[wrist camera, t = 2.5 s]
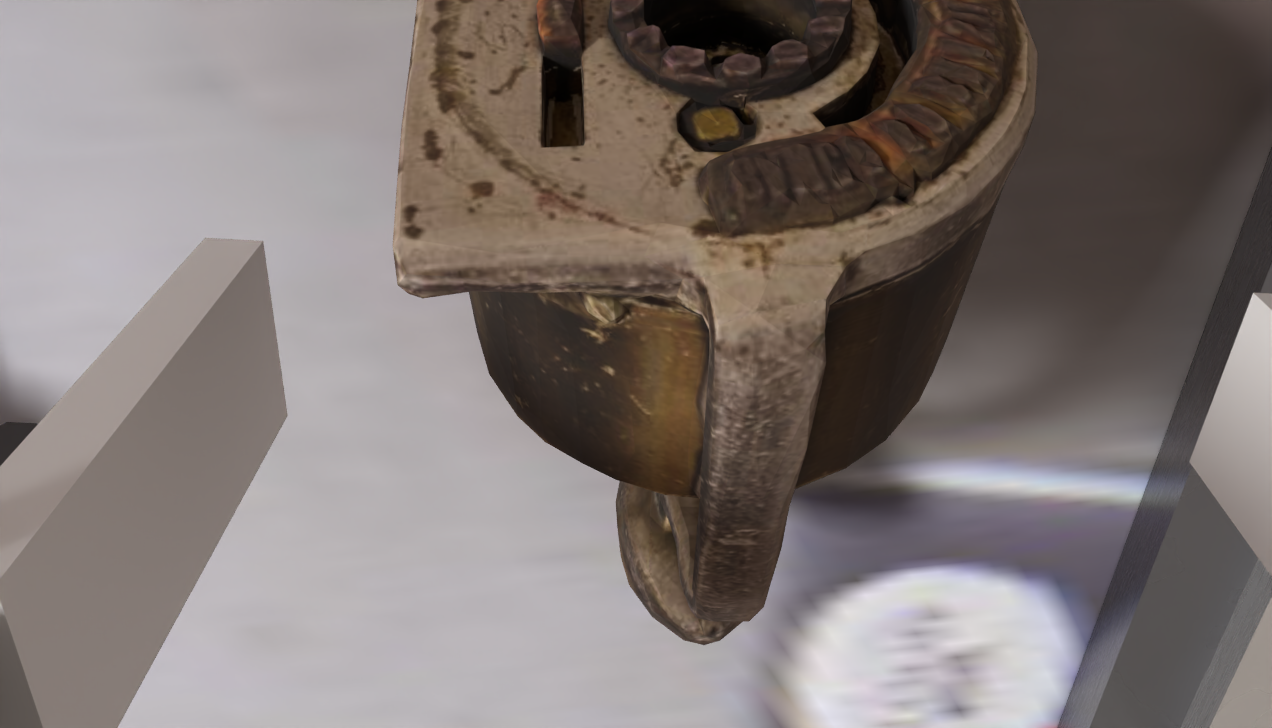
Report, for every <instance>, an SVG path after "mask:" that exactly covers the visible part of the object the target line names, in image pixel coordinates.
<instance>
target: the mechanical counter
mask: <svg viewBox="0 0 1272 728" xmlns="http://www.w3.org/2000/svg"><path fill="white" fill-rule="evenodd" d="M1037 63H1038V52H1037V50H1036V47H1035V45H1034V42H1033V40H1032V37H1031V35H1030V32H1029V30H1028V27H1027V25H1026V22H1025V20H1024V17H1023V15H1022V12H1021V10H1020V7H1019V5H1018V3H1017V1H1016V0H417V8H416V17H415V25H414V34H413V42H412V50H411V59H410V67H409V74H408V82H407V90H406V97H405V105H404V112H403V120H402V129H401V141H400V154H399V167H398V179H397V193H396V207H395V221H394V235H393V251H394V259H395V267H396V276H397V284H398V285H399V286H400V287H401V288H402V289H404V290H405V291H406V292H407V293H409V294H411V295H414V296H418V297H421V298H428V297H435V296H442V295H449V294H456V293H463V292H469V295H470V299H471V304H472V309H473V314H474V318H475V323H476V328H477V333H478V336H479V340H480V343H481V347H482V350H483V354H484V357H485V361H486V364H487V368H488V371H489V374H490V376H491V377H492V379H493V380H494V382H495V383H496V385H497V386H498V388H499V389H500V391H501V392H502V394H503V395H504V397H505V398H506V400H507V401H508V403H509V404H510V406H511V407H512V409H513V410H514V411H515V413H516V414H517V416H518V417H519V418H520V419H521V420H522V421H523V422H524V423H526V424H527V425H528V426H529V427H530V428H531V429H532V430H533V431H534V432H535V433H536V434H537V435H538V436H539V437H541V438H542V439H543V440H544V441H545V442H546V443H548V444H550V445H552V446H553V447H555V448H557V449H559V450H560V451H562V452H564V453H566V454H567V455H569V456H571V457H573V458H574V459H576V460H578V461H580V462H581V463H583V464H585V465H587V466H589V467H591V468H593V469H595V470H597V471H599V472H601V473H604V474H606V475H608V476H610V477H612V478H614V479H616V480H619V481H620V483H619V488H618V493H617V498H616V512H617V527H618V535H619V544H620V552H621V558H622V562H623V565H624V569H625V572H626V576H627V579H628V582H629V585H630V587H631V588H632V589H633V591H634V592H635V594H636V595H637V596H638V598H639V599H640V600H641V602H642V603H643V605H644V606H645V607H646V609H647V610H648V612H649V613H650V614H651V616H652V617H653V618H655V619H656V620H657V621H659V622H660V623H661V624H663V625H664V626H665V627H667V628H668V629H669V630H671V631H672V632H673V633H675V634H676V635H678V636H679V637H680V638H682V639H683V640H685V641H689V642H694V643H698V644H702V645H706V644H709V643H713V642H716V641H719V640H721V639H722V638H724V637H725V636H726V635H727V634H728V633H730V632H731V631H732V630H733V629H734V628H736V627H737V626H738V625H739V624H740V623H742V622H743V621H750V620H751V619H752V618H753V617H754V616H755V615H756V614H757V613H758V612H759V611H760V610H761V609H762V608H763V607H764V604H765V601H766V597H767V594H768V591H769V587H770V584H771V580H772V577H773V574H774V571H775V567H776V564H777V561H778V558H779V554H780V551H781V547H782V542H783V536H784V531H785V526H786V521H787V516H788V511H789V506H790V503H791V499H792V496H793V493H794V489H796V488H798V487H801V486H803V485H806V484H808V483H811V482H813V481H815V480H818V479H820V478H823V477H825V476H827V475H830V474H832V473H835V472H837V471H840V470H842V469H844V468H846V467H848V466H849V465H851V464H852V463H854V462H855V461H856V460H858V459H859V458H861V457H862V456H864V455H865V454H866V453H868V452H869V451H871V450H872V449H874V448H875V447H876V446H878V445H879V444H881V443H882V442H884V441H885V440H886V439H887V438H888V437H889V436H890V435H891V433H892V432H893V431H894V430H895V429H896V427H897V426H898V425H899V424H900V423H901V421H902V420H903V419H904V418H905V417H906V415H907V414H908V413H909V412H910V411H911V409H912V408H913V407H914V406H915V405H916V403H917V402H918V401H919V399H920V397H921V395H922V393H923V391H924V389H925V387H926V385H927V383H928V381H929V379H930V377H931V375H932V373H933V371H934V368H935V366H936V363H937V361H938V359H939V356H940V354H941V351H942V349H943V346H944V344H945V342H946V339H947V337H948V334H949V331H950V328H951V326H952V323H953V320H954V318H955V315H956V312H957V310H958V307H959V304H960V301H961V299H962V296H963V293H964V291H965V288H966V285H967V282H968V280H969V277H970V274H971V272H972V269H973V266H974V264H975V261H976V258H977V256H978V253H979V250H980V247H981V245H982V242H983V239H984V237H985V234H986V231H987V229H988V226H989V223H990V221H991V218H992V215H993V213H994V210H995V207H996V205H997V202H998V199H999V197H1000V194H1001V191H1002V189H1003V186H1004V183H1005V181H1006V180H1007V178H1008V176H1009V174H1010V172H1011V170H1012V168H1013V166H1014V164H1015V162H1016V160H1017V158H1018V156H1019V154H1020V152H1021V150H1022V148H1023V146H1024V143H1025V141H1026V138H1027V135H1028V132H1029V129H1030V126H1031V123H1032V120H1033V117H1034V114H1035V106H1036V84H1037Z"/></svg>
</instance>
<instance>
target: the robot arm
mask: <svg viewBox="0 0 1272 728" xmlns="http://www.w3.org/2000/svg"><path fill="white" fill-rule="evenodd" d="M286 417H287V409H286V401H285V394H284V387H283V380H282V373H281V366H280V359H279V351H278V344H277V337H276V330H275V323H274V316H273V308H272V301H271V294H270V287H269V280H268V273H267V266H266V258H265V251H264V244H263V241H253V240H234V239H215V238H205V239H204V240H203V241H202V242H201V243H200V244H199V245H198V246H197V247H196V249H195V250H194V251H193V252H192V253H191V254H190V255H189V256H188V257H187V259H186V260H185V261H184V262H183V263H182V264H181V265H180V266H179V268H178V269H177V270H176V271H175V272H174V273H173V274H172V275H171V276H170V278H169V279H168V280H167V281H166V282H165V283H164V284H163V285H162V286H161V288H160V289H159V290H158V291H157V292H156V293H155V294H154V295H153V297H152V298H151V299H150V300H149V301H148V302H147V303H146V304H145V305H144V307H143V308H142V309H141V310H140V311H139V312H138V313H137V314H136V315H135V317H134V318H133V319H132V320H131V321H130V322H129V323H128V324H127V326H126V327H125V328H124V329H123V330H122V331H121V332H120V333H119V334H118V336H117V337H116V338H115V339H114V340H113V341H112V342H111V343H110V344H109V346H108V347H107V348H106V349H105V350H104V351H103V352H102V353H101V354H100V356H99V357H98V358H97V359H96V360H95V361H94V362H93V363H92V365H91V366H90V367H89V368H88V369H87V370H86V371H85V372H84V373H83V375H82V376H81V377H80V378H79V379H78V380H77V381H76V382H75V383H74V385H73V386H72V387H71V388H70V389H69V390H68V391H67V392H66V394H65V395H64V396H63V397H62V398H61V399H60V400H59V401H58V402H57V404H56V405H55V406H54V407H53V408H52V409H51V410H50V411H49V412H48V414H47V415H46V416H45V417H44V418H43V419H42V420H41V421H40V423H39V424H34V423H14V422H6V423H5V424H3V425H1V426H0V728H117V727H118V725H119V724H120V722H121V720H122V718H123V716H124V714H125V713H126V711H127V709H128V707H129V705H130V703H131V702H132V700H133V698H134V696H135V694H136V692H137V691H138V689H139V687H140V685H141V683H142V681H143V680H144V678H145V676H146V674H147V672H148V670H149V669H150V667H151V665H152V663H153V661H154V659H155V658H156V656H157V654H158V652H159V650H160V648H161V647H162V645H163V643H164V641H165V639H166V637H167V636H168V634H169V632H170V630H171V628H172V626H173V625H174V623H175V621H176V619H177V617H178V615H179V614H180V612H181V610H182V608H183V606H184V604H185V603H186V601H187V599H188V597H189V595H190V593H191V592H192V590H193V588H194V586H195V584H196V582H197V581H198V579H199V577H200V575H201V573H202V571H203V570H204V568H205V566H206V564H207V562H208V560H209V559H210V557H211V555H212V553H213V551H214V549H215V548H216V546H217V544H218V542H219V540H220V538H221V537H222V535H223V533H224V531H225V529H226V527H227V526H228V524H229V522H230V520H231V518H232V516H233V515H234V513H235V511H236V509H237V507H238V505H239V504H240V502H241V500H242V498H243V496H244V494H245V493H246V491H247V489H248V487H249V485H250V483H251V482H252V480H253V478H254V476H255V474H256V472H257V471H258V469H259V467H260V465H261V463H262V461H263V460H264V458H265V456H266V454H267V452H268V450H269V449H270V447H271V445H272V443H273V441H274V439H275V438H276V436H277V434H278V432H279V430H280V428H281V427H282V425H283V423H284V421H285V419H286ZM1189 462H1190V463H1191V465H1192V466H1193V468H1194V469H1195V470H1196V472H1197V473H1198V475H1199V476H1200V477H1201V479H1202V480H1203V482H1204V483H1205V484H1206V486H1207V487H1208V489H1209V490H1210V491H1211V493H1212V494H1213V496H1214V497H1215V498H1216V500H1217V501H1218V503H1219V504H1220V505H1221V507H1222V508H1223V509H1224V511H1225V512H1226V514H1227V515H1228V516H1229V518H1230V519H1231V521H1232V522H1233V523H1234V525H1235V526H1236V528H1237V529H1238V530H1239V532H1240V533H1241V535H1242V536H1243V537H1244V539H1245V540H1246V542H1247V543H1248V544H1249V546H1250V547H1251V549H1252V550H1253V551H1254V553H1255V554H1256V556H1257V557H1258V558H1259V560H1260V561H1261V562H1262V564H1263V565H1264V567H1265V568H1266V569H1267V571H1268V572H1269V574H1270V575H1271V576H1272V294H1270V293H1253V295H1252V297H1251V300H1250V303H1249V305H1248V308H1247V311H1246V313H1245V316H1244V318H1243V321H1242V324H1241V326H1240V329H1239V332H1238V334H1237V337H1236V340H1235V342H1234V345H1233V348H1232V350H1231V353H1230V355H1229V358H1228V361H1227V363H1226V366H1225V369H1224V371H1223V374H1222V377H1221V379H1220V382H1219V385H1218V387H1217V390H1216V393H1215V395H1214V398H1213V400H1212V403H1211V406H1210V408H1209V411H1208V414H1207V416H1206V419H1205V422H1204V424H1203V427H1202V430H1201V432H1200V435H1199V437H1198V440H1197V443H1196V445H1195V448H1194V451H1193V453H1192V456H1191V459H1190V461H1189Z"/></svg>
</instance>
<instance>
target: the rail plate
mask: <svg viewBox="0 0 1272 728" xmlns="http://www.w3.org/2000/svg"><path fill="white" fill-rule="evenodd" d="M1253 293H1270V294H1272V148H1271V151H1270V154H1269V157H1268V159H1267V162H1266V165H1265V167H1264V170H1263V173H1262V175H1261V178H1260V181H1259V184H1258V186H1257V189H1256V192H1255V194H1254V197H1253V200H1252V203H1251V205H1250V208H1249V211H1248V213H1247V216H1246V219H1245V221H1244V224H1243V227H1242V230H1241V232H1240V235H1239V238H1238V240H1237V243H1236V246H1235V249H1234V251H1233V254H1232V257H1231V259H1230V262H1229V265H1228V267H1227V270H1226V273H1225V276H1224V278H1223V281H1222V284H1221V286H1220V289H1219V292H1218V295H1217V297H1216V300H1215V303H1214V305H1213V308H1212V311H1211V314H1210V316H1209V319H1208V322H1207V324H1206V327H1205V330H1204V332H1203V335H1202V338H1201V341H1200V343H1199V346H1198V349H1197V351H1196V354H1195V357H1194V360H1193V362H1192V365H1191V368H1190V370H1189V373H1188V376H1187V378H1186V381H1185V384H1184V387H1183V389H1182V392H1181V395H1180V397H1179V400H1178V403H1177V406H1176V408H1175V411H1174V414H1173V416H1172V419H1171V422H1170V424H1169V427H1168V430H1167V433H1166V435H1165V438H1164V441H1163V443H1162V446H1161V449H1160V452H1159V454H1158V457H1157V460H1156V462H1155V465H1154V468H1153V470H1152V473H1151V476H1150V479H1149V481H1148V484H1147V487H1146V489H1145V492H1144V495H1143V498H1142V500H1141V503H1140V506H1139V508H1138V511H1137V514H1136V516H1135V519H1134V522H1133V525H1132V527H1131V530H1130V533H1129V535H1128V538H1127V541H1126V544H1125V546H1124V549H1123V552H1122V554H1121V557H1120V560H1119V562H1118V565H1117V568H1116V571H1115V573H1114V576H1113V579H1112V581H1111V584H1110V587H1109V590H1108V592H1107V595H1106V598H1105V600H1104V603H1103V606H1102V608H1101V611H1100V614H1099V617H1098V619H1097V622H1096V625H1095V627H1094V630H1093V633H1092V636H1091V638H1090V641H1089V644H1088V646H1087V649H1086V652H1085V654H1084V657H1083V660H1082V663H1081V665H1080V668H1079V671H1078V673H1077V676H1076V679H1075V682H1074V684H1073V687H1072V690H1071V692H1070V695H1069V698H1068V700H1067V703H1066V706H1065V709H1064V711H1063V714H1062V717H1061V719H1060V722H1059V725H1058V728H1272V576H1271V575H1270V574H1269V572H1268V571H1267V569H1266V568H1265V567H1264V565H1263V564H1262V562H1261V561H1260V560H1259V558H1258V557H1257V556H1256V554H1255V553H1254V551H1253V550H1252V549H1251V547H1250V546H1249V544H1248V543H1247V542H1246V540H1245V539H1244V537H1243V536H1242V535H1241V533H1240V532H1239V530H1238V529H1237V528H1236V526H1235V525H1234V523H1233V522H1232V521H1231V519H1230V518H1229V516H1228V515H1227V514H1226V512H1225V511H1224V509H1223V508H1222V507H1221V505H1220V504H1219V503H1218V501H1217V500H1216V498H1215V497H1214V496H1213V494H1212V493H1211V491H1210V490H1209V489H1208V487H1207V486H1206V484H1205V483H1204V482H1203V480H1202V479H1201V477H1200V476H1199V475H1198V473H1197V472H1196V470H1195V469H1194V468H1193V466H1192V465H1191V463H1190V462H1189V461H1190V459H1191V456H1192V453H1193V451H1194V448H1195V445H1196V443H1197V440H1198V437H1199V435H1200V432H1201V430H1202V427H1203V424H1204V422H1205V419H1206V416H1207V414H1208V411H1209V408H1210V406H1211V403H1212V400H1213V398H1214V395H1215V393H1216V390H1217V387H1218V385H1219V382H1220V379H1221V377H1222V374H1223V371H1224V369H1225V366H1226V363H1227V361H1228V358H1229V355H1230V353H1231V350H1232V348H1233V345H1234V342H1235V340H1236V337H1237V334H1238V332H1239V329H1240V326H1241V324H1242V321H1243V318H1244V316H1245V313H1246V311H1247V308H1248V305H1249V303H1250V300H1251V297H1252V295H1253Z"/></svg>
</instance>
